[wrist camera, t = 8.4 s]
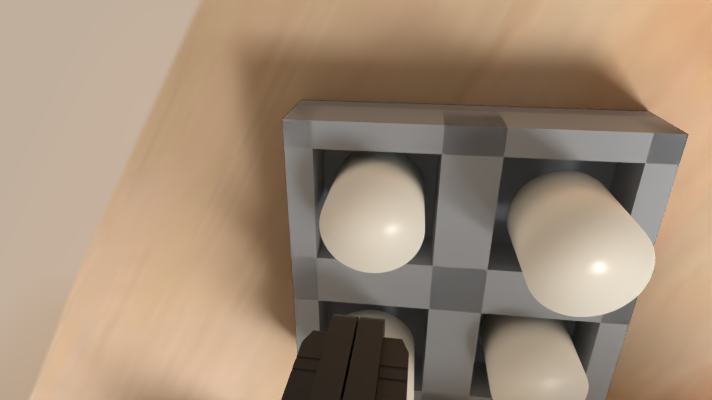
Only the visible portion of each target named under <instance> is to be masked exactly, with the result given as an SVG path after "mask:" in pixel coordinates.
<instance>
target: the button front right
mask: <svg viewBox="0 0 712 400" xmlns="http://www.w3.org/2000/svg"><path fill="white" fill-rule="evenodd" d="M507 228H508V232H509V235H510V238H511V241H512V244H513V247H514V249H515V252H516V255H517V258H518V261H519V264H520V267H521V270H522V273H523V275H524V278H525V281H526V284H527V286H528V289H529V291H530V292H531V294H532V295H533V296H534V298H535V299H536V300H537V301H538V302H539V303H540V304H542V305H543V306H545V307H546V308H548V309H550V310H552V311H554V312H556V313H559V314H562V315H567V316H573V317H592V316H598V315H603V314H606V313H609V312H612V311H615V310H617V309H619V308H621V307H623V306H625V305H626V304H628V303H629V302H631V301H632V300H633V299H635V298H636V297H637V296H638V295H639V294H640V293H641V292H642V291H643V290H644V288H645V287H646V286H647V284H648V282H649V281H650V279H651V277H652V274H653V271H654V267H655V251H654V247H653V244H652V242H651V240H650V238H649V237H648V235H647V234H646V233H645V232H644V230H643V229H642V228H641V227H640V226H639V225H638V224H637V222H636V221H635V220H634V219H633V218H632V217H631V216H630V215H629V213H628V212H627V211H626V210H625V209H624V208H623V207H622V205H621V204H620V203H619V202H618V201H617V200H616V199H615V198H614V196H613V195H612V194H611V193H610V192H609V191H608V190H607V188H606V187H605V186H604V185H603V184H602V183H601V182H600V181H598V180H597V179H596V178H594V177H592V176H590V175H588V174H585V173H583V172H579V171H572V170H559V171H553V172H549V173H545V174H543V175H540V176H538V177H536V178H534V179H532V180H531V181H529V182H528V183H526V184H525V185H524V186H523V187H522V188H521V189H520V190H519V191H518V192H517V193H516V195H515V196H514V197H513V199H512V201H511V203H510V205H509V208H508V212H507Z"/></svg>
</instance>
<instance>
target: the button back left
mask: <svg viewBox="0 0 712 400" xmlns="http://www.w3.org/2000/svg"><path fill="white" fill-rule="evenodd" d="M348 315H351V316H358V317H359V318H360V316H363V317H373V318H384V319H385V337H387V338H397V339H402V340H403V342H404V344H405V346H406V348H407V350H408V352H409V363H408V382H407V400H414V351H415V343H414V338H413V335H412V333H411V331H410V330H409V328H408V327H407V326H406V325H405V324H404V323H403V322H402V321H401V320H400V319H398V318H397V317H395V316H393V315H391V314H389V313H386V312H383V311H378V310H360V311H356V312H353V313H350V314H348Z"/></svg>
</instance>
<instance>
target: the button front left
mask: <svg viewBox="0 0 712 400" xmlns="http://www.w3.org/2000/svg"><path fill="white" fill-rule="evenodd" d="M319 228H320V234H321V238H322V240H323V242H324V244H325V246H326V248H327V249H328V251H329V252H330V253H331V254H332V255H333V256H334V257H335V258H336V259H337V260H338V261H339V262H341V263H342V264H344V265H346V266H348V267H350V268H352V269H355V270H357V271H361V272H367V273H383V272H388V271H392V270H395V269H397V268H399V267H402V266H403V265H405V264H406V263H408V262H409V261H410V260H411V259H412V258H413V257H414V256H415V255H416V254H417V252H418V251H419V249H420V247H421V245H422V243H423V240H424V235H425V203H424V182H423V178H422V175H421V173H420V171H419V169H418V168H417V166H416V165H415V164H414V162H413V161H412V160H411V159H410V158H408V157H407V156H406V155H404V154H403V153H398V152H375V151H358V152H356V153H354V154H352V155H351V156H350V157H348V158H347V159H346V160H345V161H344V162H343V164H342V165H341V167H340V168H339V170H338V172H337V175H336V177H335V179H334V182H333V184H332V186H331V189H330V191H329V194H328V196H327V198H326V201H325V203H324V205H323V208H322V211H321V214H320V219H319Z"/></svg>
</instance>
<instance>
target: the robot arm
mask: <svg viewBox="0 0 712 400" xmlns="http://www.w3.org/2000/svg"><path fill="white" fill-rule="evenodd" d="M408 363H409V352H408V350H407V348H406V346H405V344H404V342H403V340H402V339H397V338H387V337H385V319H384V318H373V317H363V316H360V318H359V317H358V316H351V315H340V314H333V316H332V319H331V322H330V326H329V329H328V332H326V331H316V330H313V331H312V332H311V333H310V334H309V335H308V336H307V337H306V338H305V339H304V340H303V341H302V343H301V346H300V348H299V351H298V354H297V358H296V360H295V363H294V365H293V369H292V371H291V374H290V377H289V380H288V382H287V385H286V388H285V391H284V394H283V397H282V399H281V400H407V382H408Z"/></svg>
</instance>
